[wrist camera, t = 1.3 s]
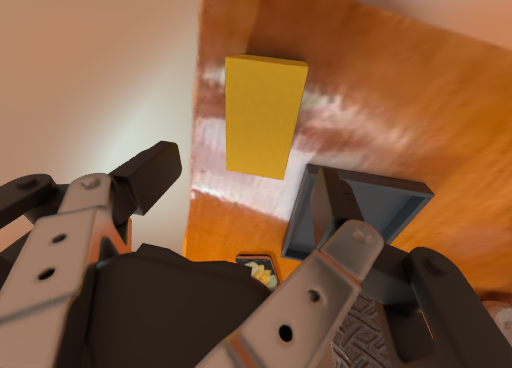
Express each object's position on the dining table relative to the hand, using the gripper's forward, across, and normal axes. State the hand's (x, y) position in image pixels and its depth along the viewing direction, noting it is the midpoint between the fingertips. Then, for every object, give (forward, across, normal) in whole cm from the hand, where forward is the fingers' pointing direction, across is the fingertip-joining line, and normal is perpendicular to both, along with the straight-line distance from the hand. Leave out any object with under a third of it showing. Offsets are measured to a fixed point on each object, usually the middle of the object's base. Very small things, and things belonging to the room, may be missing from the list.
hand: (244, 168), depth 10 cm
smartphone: (+11, -3, +34) cm, 36 cm away
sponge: (+11, 0, 0) cm, 11 cm away
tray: (+11, -12, +14) cm, 21 cm away
